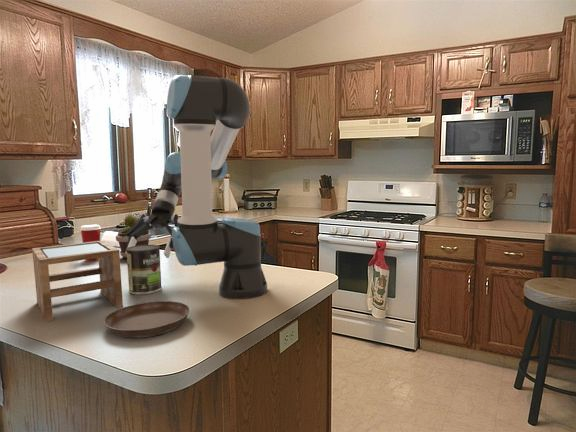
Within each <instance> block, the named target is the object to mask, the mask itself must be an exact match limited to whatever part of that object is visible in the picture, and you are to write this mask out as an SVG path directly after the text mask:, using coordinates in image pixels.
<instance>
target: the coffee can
mask: <svg viewBox="0 0 576 432" xmlns="http://www.w3.org/2000/svg"><path fill="white" fill-rule="evenodd" d="M160 248H161V247H160V245H156V244H148V245H138V246H132V247H128V248H126V252H127V259H126V263H127V280H128V293H129V294H131V295H132V294H133V295H149V294H154V293H157V292H160V291H162V289H163V288H162V275H161V273H162V270H161V255H160V254H161V253H160V252H161V251H160Z"/></svg>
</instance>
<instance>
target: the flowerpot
mask: <svg viewBox="0 0 576 432" xmlns="http://www.w3.org/2000/svg"><path fill="white" fill-rule="evenodd" d="M137 221H138V220H137V217H136V216H133V214H132V213H131V212H129V214H126V215H125V216H124V218H123V222H122V224H123V225H124V229H123V230H121V231H117V232H118V235H116V241H118V242H119V245H120V247H119V248H120V250H119V254H120V256H121V257H122V258H123V259H124V260H127V254H126V253H125V252H126V248H127V247H128V246H127V242H128V240H129V239H128V238H127V236H126V235H125V233H126V232H127V231H128V230H129V229H130V228H131V227H132V226H133V225H134V224H135V223H136V222H137ZM150 239H152V234H151V232H149V230H148V231H147V232H145V233H144V234H143V235H141V236H140V237H138V238H137V239H136V241H137V242H136V245H135V246H138V245H149V243H150Z"/></svg>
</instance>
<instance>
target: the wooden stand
mask: <svg viewBox="0 0 576 432" xmlns="http://www.w3.org/2000/svg"><path fill="white" fill-rule="evenodd" d="M95 243H98V244H99V245H101V246H102V247H104V248H105V249H107V250H105V251H97V252H89V253H81V254H73V255H65V256H58V257H50V258H47V257H46V256H45V255H44V253H43V252H42V250H43V249H52V248H60V247H69V246H78V245H87V244H95ZM31 250H32V251H31V253H32V260H33V261H32V262H33V270H34V271H33V272H34V281H35V283H34V284H35V291H36V303H37V305H38V307H39V310H40V313H41V315H42V317H43V319H44V322H51V321H53V320H54V316H53V315H54V314H53V304H52V298H57V297H64V296H69V295H76V294H81V293H86V292H87V293H88V292H91V291H97V290H98V291H99V290H100V292H101V293H102V294H103V296H105V297H106V298H107V299H108V300H109V301H110V302H111V304H113V305H114V306H115V308H120V307H124V302H123V301H124V300H123V286H122V272H121V271H122V269H121V257H120V256H121V254H120V249H118V247H117V248H116V246H112V245H110V244H108V243H107V242H105V241H101V240H100V241H94V242H85V243H83V242H78V243H69V244H59V245H51V246H43V247H34V248H33V247H32V248H31ZM94 258H98V260H97V261H98V267H92V268H87V269H79V270H73V271H67V272H65V271H64V272H59V273H53V274H50V272H49V271H50V270H49V265H55V264H63V263H64V264H65V263H70V262H71V263H72V262H79V261H85V260H87V259H94ZM95 275H99V281H94V282H87V283H81V284H75V285H70V286H68V285H67V286H63V287H57V288H56V287H55V288H52V289H51V282H52V283H53V282H58V281H65V280H71V279H77V278H83V277H91V276H95Z"/></svg>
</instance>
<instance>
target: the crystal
mask: <svg viewBox="0 0 576 432" xmlns="http://www.w3.org/2000/svg"><path fill="white" fill-rule="evenodd" d="M118 232H119V231H109V230H106V231H104V232H103V235H102V237H101V238H100V241H105V242H107V243H108V244H110V245H112V246H113V247H117V248H120V245H119V242H118V241H116V235H118Z"/></svg>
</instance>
